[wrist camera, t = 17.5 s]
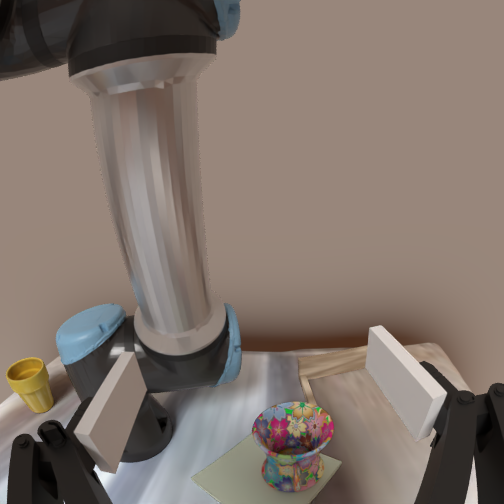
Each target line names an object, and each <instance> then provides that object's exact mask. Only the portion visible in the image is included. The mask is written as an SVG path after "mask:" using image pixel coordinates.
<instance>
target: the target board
mask: <svg viewBox="0 0 504 504" xmlns="http://www.w3.org/2000/svg"><path fill="white" fill-rule="evenodd" d="M319 456H320V457H321V458H322V460H323V463H324V472H323V475H322V477H321V479H320V480H319V481H318V482H317V483H316V484H315V485H314V486H312V487H310V488H308V489H306V490H303V491H299V492H283V491H279V490H276V489H274V488H272V487H271V486H269V485H268V484H267V483H266V482H265V480H264V478H263V476H262V471H261V470H262V465H263V462H264V461H265V459H266V458H267V457H266V454H265V452H264V451H263V450H261V449H260V448H259V447H258V446H257V444H256V443H255V441H254V439H253V435H252V433H251V434H250V435H249V436H248V437H246V438H245V439H244V440H243V441H241V442H240V443H239V444H237V445H236V446H235V447H234V448H232V449H231V450H230V451H228V452H227V453H226V454H224V455H223V456H222V457H220V458H219V459H217V460H216V461H215V462H213V463H212V464H210V465H209V466H208V467H206V468H205V469H203V470H202V471H200V472H199V473H197V474H196V475H194V476H193V477H191V479H192V481H193V482H194V483H196V484H197V485H198V486H199V487H200V488H202V489H203V490H204V491H205V492H207V493H208V494H209V495H210V496H212V497H213V498H214V499H216V500H217V501H218V502H220V503H221V504H310V502H311V501H312V500H313V499H314V498H315V497H316V496H317V494H318V493H319V492H320V491H321V490H322V489H323V487H324V486H325V485H326V484H327V482H328V481H329V480H330V479H331V477H332V476H333V475H334V474H335V472H336V471H337V470H338V468H339V467H340V466H341V463H342V461H339V460H336V459H334V458H331V457H329V456H326V455H324V454H321V453H320V455H319Z"/></svg>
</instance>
